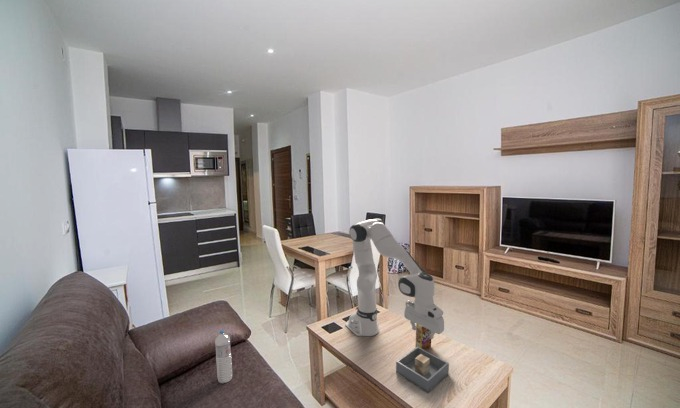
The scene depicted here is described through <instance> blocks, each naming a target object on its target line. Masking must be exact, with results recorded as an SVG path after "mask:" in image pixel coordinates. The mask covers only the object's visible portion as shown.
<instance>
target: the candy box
mask: <svg viewBox="0 0 680 408" xmlns="http://www.w3.org/2000/svg"><path fill="white" fill-rule="evenodd" d="M415 326H417V329H416V330H415V347H414V348H416V347H419V348H421V349H423V350H425V351H427V350H428V349H430V348H431V347H432V339H430V338H429V334H432V333H431V330H429V329H427V328H425V327H423V326H420V325H418V324H416V323H415Z"/></svg>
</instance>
